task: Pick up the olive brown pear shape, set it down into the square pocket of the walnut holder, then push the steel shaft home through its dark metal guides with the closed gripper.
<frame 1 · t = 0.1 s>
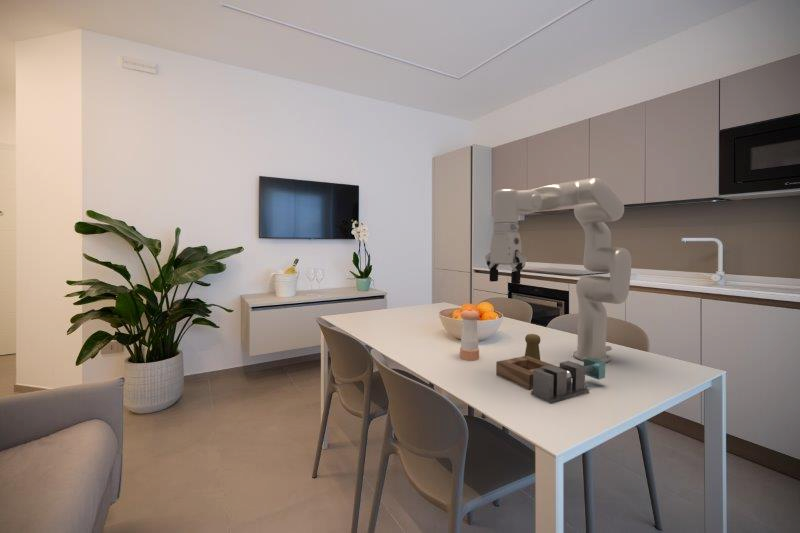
hand: (504, 282, 114), 31 cm above the table, tool pointing down, fingers open, 9 cm apart
steel shaft: (579, 371, 107), point 5 cm above the table, slide at 0.0 cm
salt shaker: (469, 358, 137), on the table
shaft bracket: (560, 393, 104), on the table
olive brown pear shape: (532, 365, 129), on the table
walnut holder: (527, 378, 116), on the table
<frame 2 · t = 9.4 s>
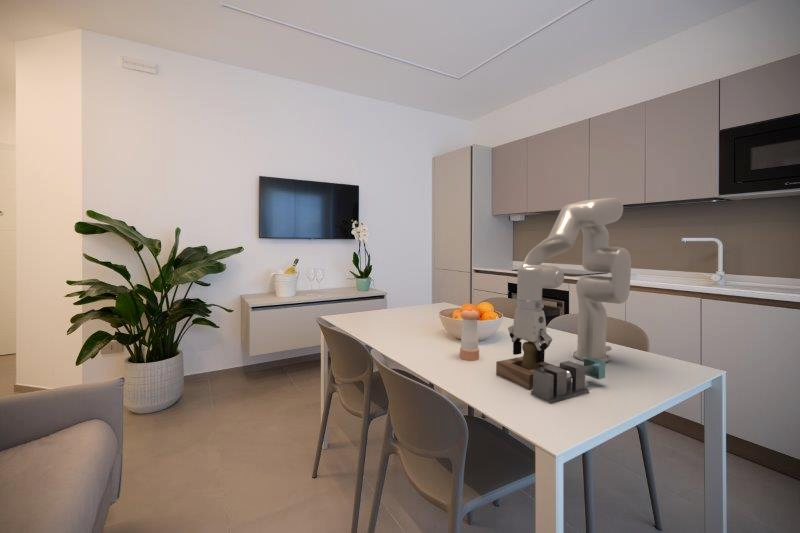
hand: (528, 357, 115), 7 cm above the table, tool pointing down, fingers open, 9 cm apart
olive brown pear shape: (530, 376, 115), point 1 cm above the table, touching walnut holder
everything else where it was.
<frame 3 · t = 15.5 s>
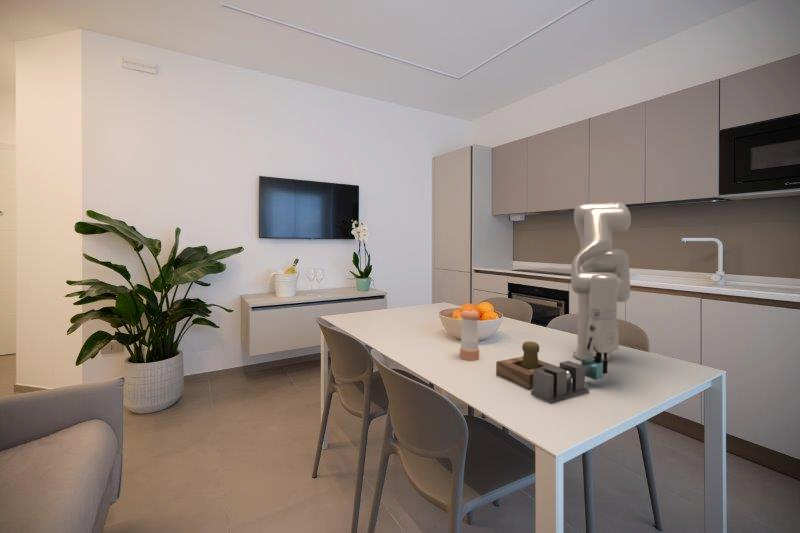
hand: (600, 372, 112), 3 cm above the table, tool pointing down, fingers closed
steel shaft: (577, 372, 107), point 5 cm above the table, slide at 1.2 cm, touching gripper
everything else where it was.
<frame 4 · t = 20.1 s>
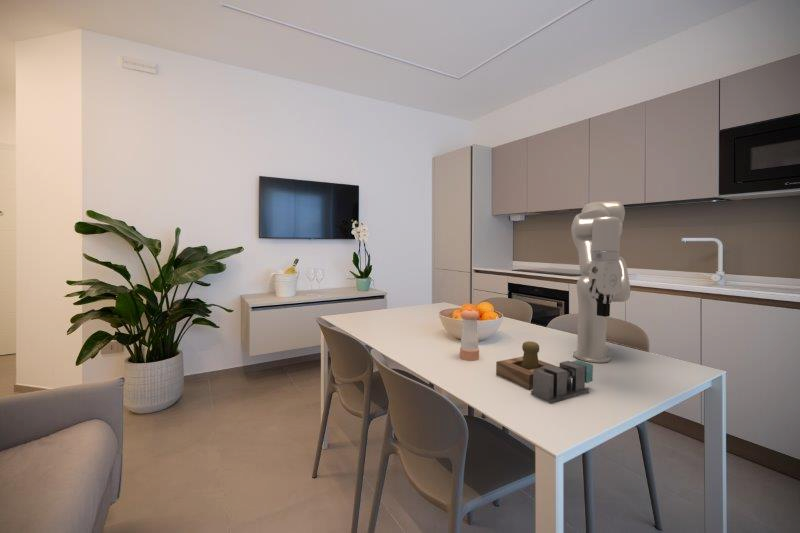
hand: (603, 315, 111), 21 cm above the table, tool pointing down, fingers closed
steel shaft: (566, 375, 105), point 5 cm above the table, slide at 6.0 cm
everything else where it was.
at the end: olive brown pear shape 0.8 cm off-centre on the walnut holder, point 0.8 cm above the walnut holder's base; olive brown pear shape tilted 0°; steel shaft slide at 6.0 cm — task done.
